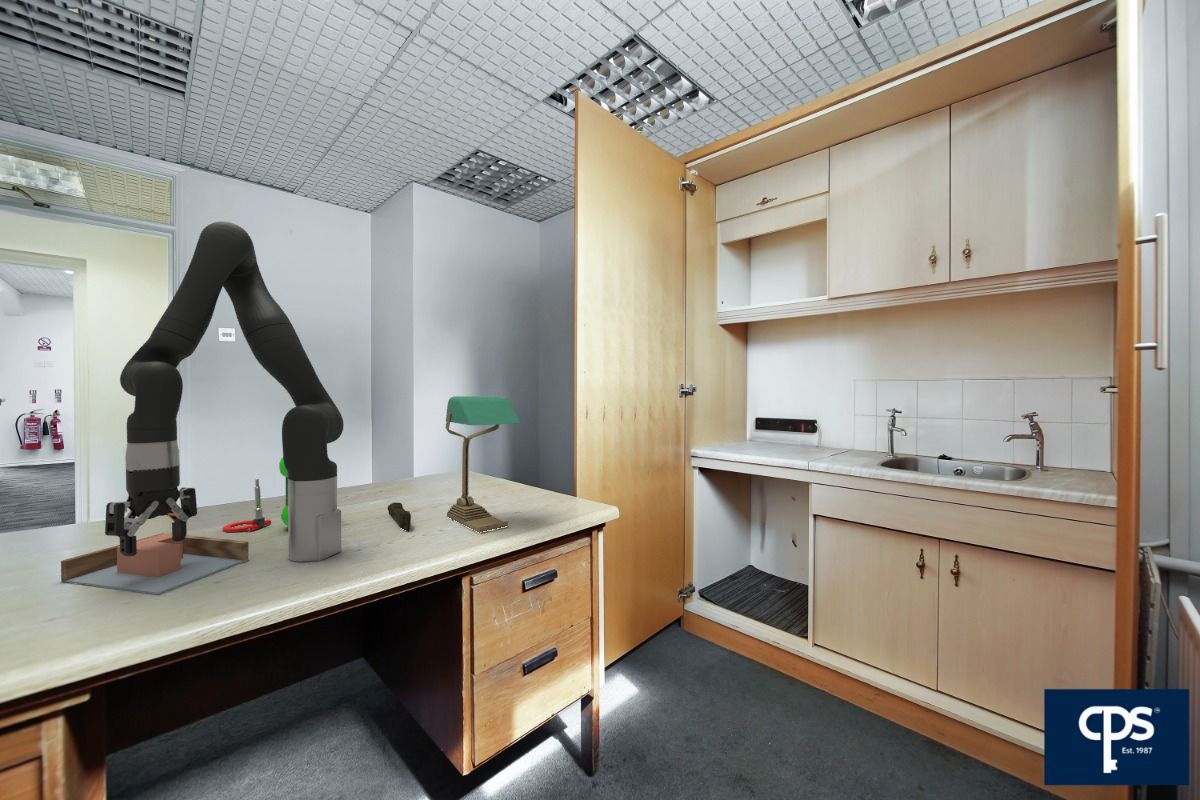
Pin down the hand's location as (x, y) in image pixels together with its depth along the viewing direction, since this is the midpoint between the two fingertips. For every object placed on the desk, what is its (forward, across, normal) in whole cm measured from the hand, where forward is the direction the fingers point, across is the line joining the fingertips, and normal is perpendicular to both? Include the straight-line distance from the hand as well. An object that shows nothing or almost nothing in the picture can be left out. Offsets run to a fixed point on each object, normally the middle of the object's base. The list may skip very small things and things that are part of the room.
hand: (155, 547), depth 90 cm
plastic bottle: (+6, -33, +3) cm, 33 cm away
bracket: (+5, -3, -3) cm, 7 cm away
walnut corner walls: (+5, -2, -2) cm, 6 cm away
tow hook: (+6, -29, -11) cm, 32 cm away
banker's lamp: (+6, -46, +46) cm, 65 cm away
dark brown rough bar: (+6, -42, +26) cm, 50 cm away
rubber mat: (+5, -2, -2) cm, 6 cm away
